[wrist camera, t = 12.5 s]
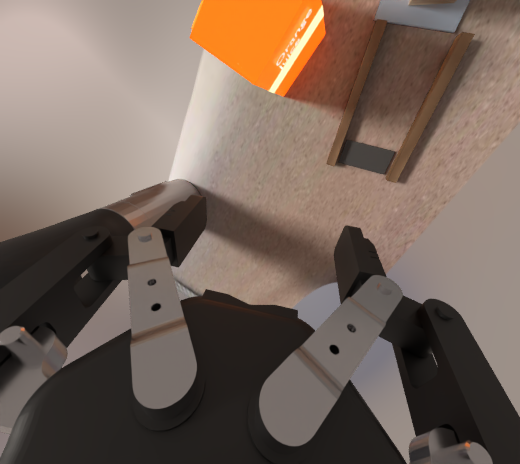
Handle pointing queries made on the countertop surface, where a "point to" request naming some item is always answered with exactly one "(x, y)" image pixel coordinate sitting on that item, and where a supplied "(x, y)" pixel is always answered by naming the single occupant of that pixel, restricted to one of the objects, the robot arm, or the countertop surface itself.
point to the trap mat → (366, 156)
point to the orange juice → (261, 37)
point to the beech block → (430, 2)
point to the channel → (426, 108)
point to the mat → (423, 14)
